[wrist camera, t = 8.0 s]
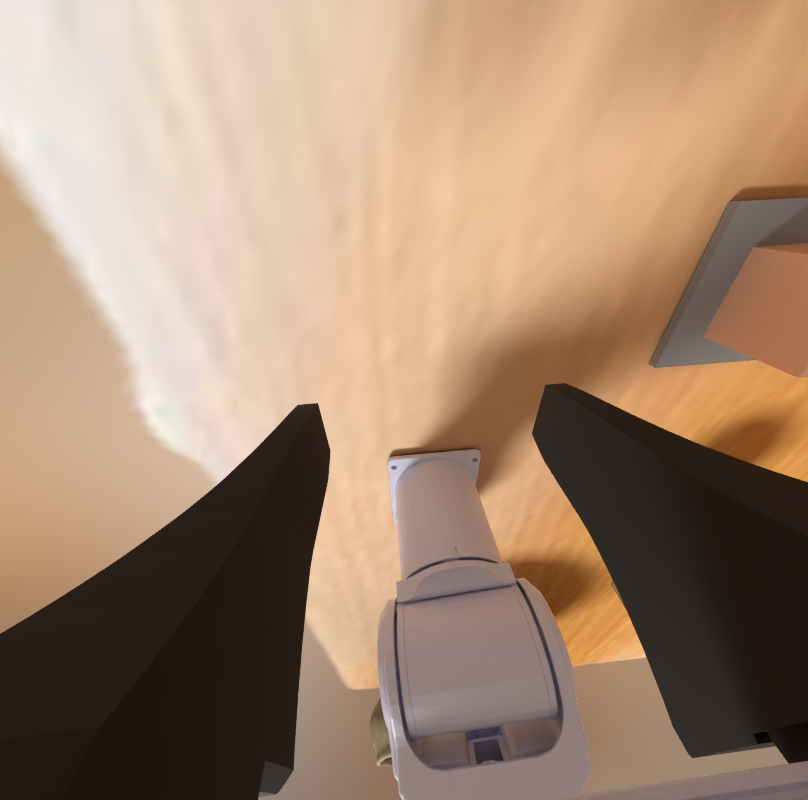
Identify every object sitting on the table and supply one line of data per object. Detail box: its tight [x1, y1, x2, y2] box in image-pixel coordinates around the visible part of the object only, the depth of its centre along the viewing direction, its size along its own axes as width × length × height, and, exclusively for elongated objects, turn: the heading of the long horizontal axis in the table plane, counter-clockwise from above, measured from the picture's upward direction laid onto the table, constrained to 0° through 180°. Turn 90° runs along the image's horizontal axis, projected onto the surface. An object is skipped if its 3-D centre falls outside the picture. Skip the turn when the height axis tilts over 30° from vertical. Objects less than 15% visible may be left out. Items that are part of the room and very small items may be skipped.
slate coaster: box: [649, 197, 808, 368], centre depth 19 cm, size 10×10×1 cm
